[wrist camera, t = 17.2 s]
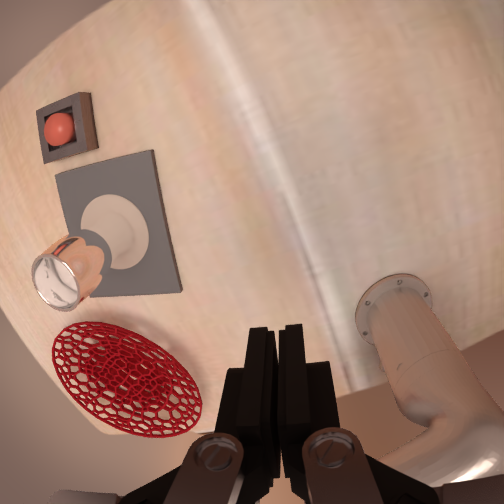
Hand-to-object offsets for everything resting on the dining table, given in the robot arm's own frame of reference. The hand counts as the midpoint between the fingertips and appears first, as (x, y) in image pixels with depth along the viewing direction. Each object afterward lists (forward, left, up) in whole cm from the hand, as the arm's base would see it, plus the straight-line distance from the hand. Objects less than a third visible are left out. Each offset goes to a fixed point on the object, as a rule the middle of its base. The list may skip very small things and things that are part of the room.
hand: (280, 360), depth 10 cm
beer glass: (-4, +22, -30) cm, 37 cm away
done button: (+13, +27, -30) cm, 42 cm away
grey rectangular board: (-3, +23, -31) cm, 38 cm away
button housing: (+13, +27, -31) cm, 43 cm away
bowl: (-30, +30, -31) cm, 53 cm away
